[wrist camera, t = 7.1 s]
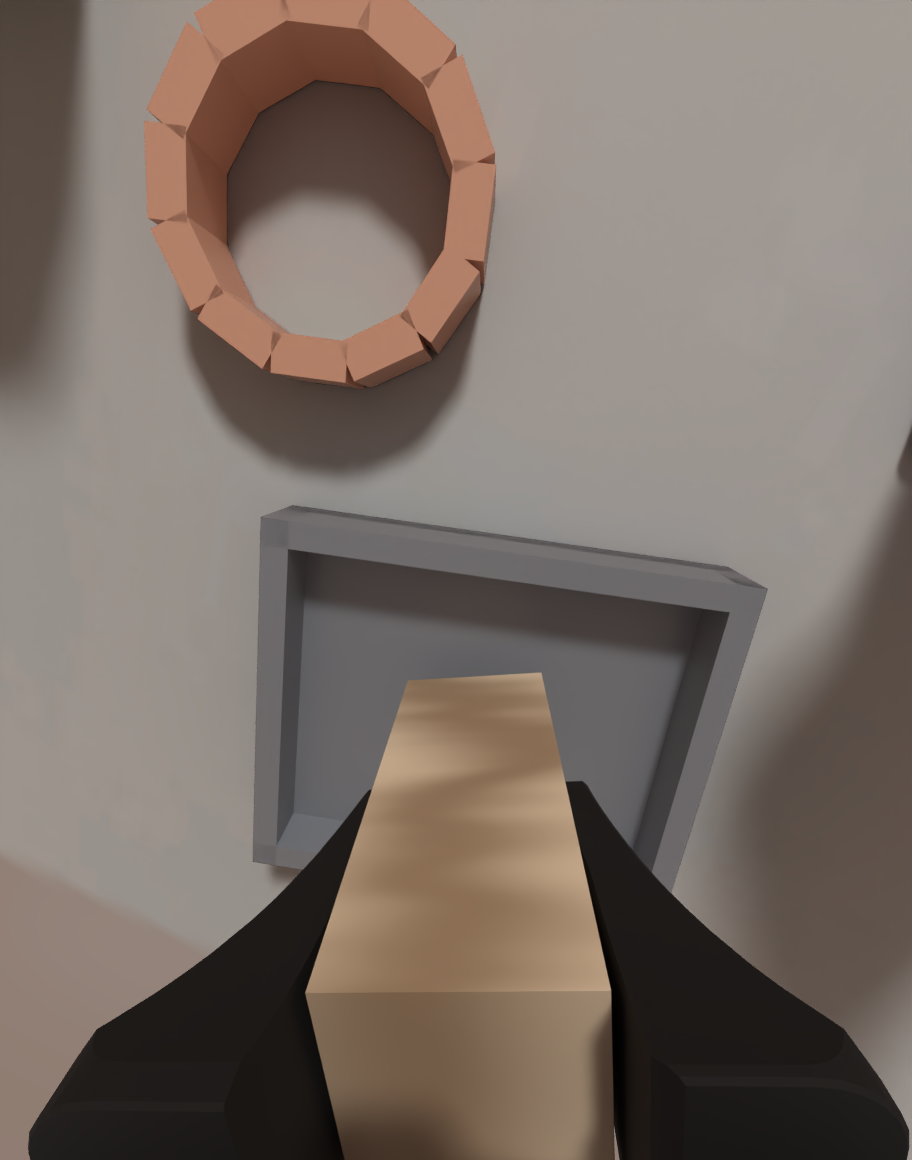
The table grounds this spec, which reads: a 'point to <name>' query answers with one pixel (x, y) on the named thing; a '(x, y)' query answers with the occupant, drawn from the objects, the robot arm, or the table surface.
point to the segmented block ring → (222, 122)
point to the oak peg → (467, 945)
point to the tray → (488, 665)
